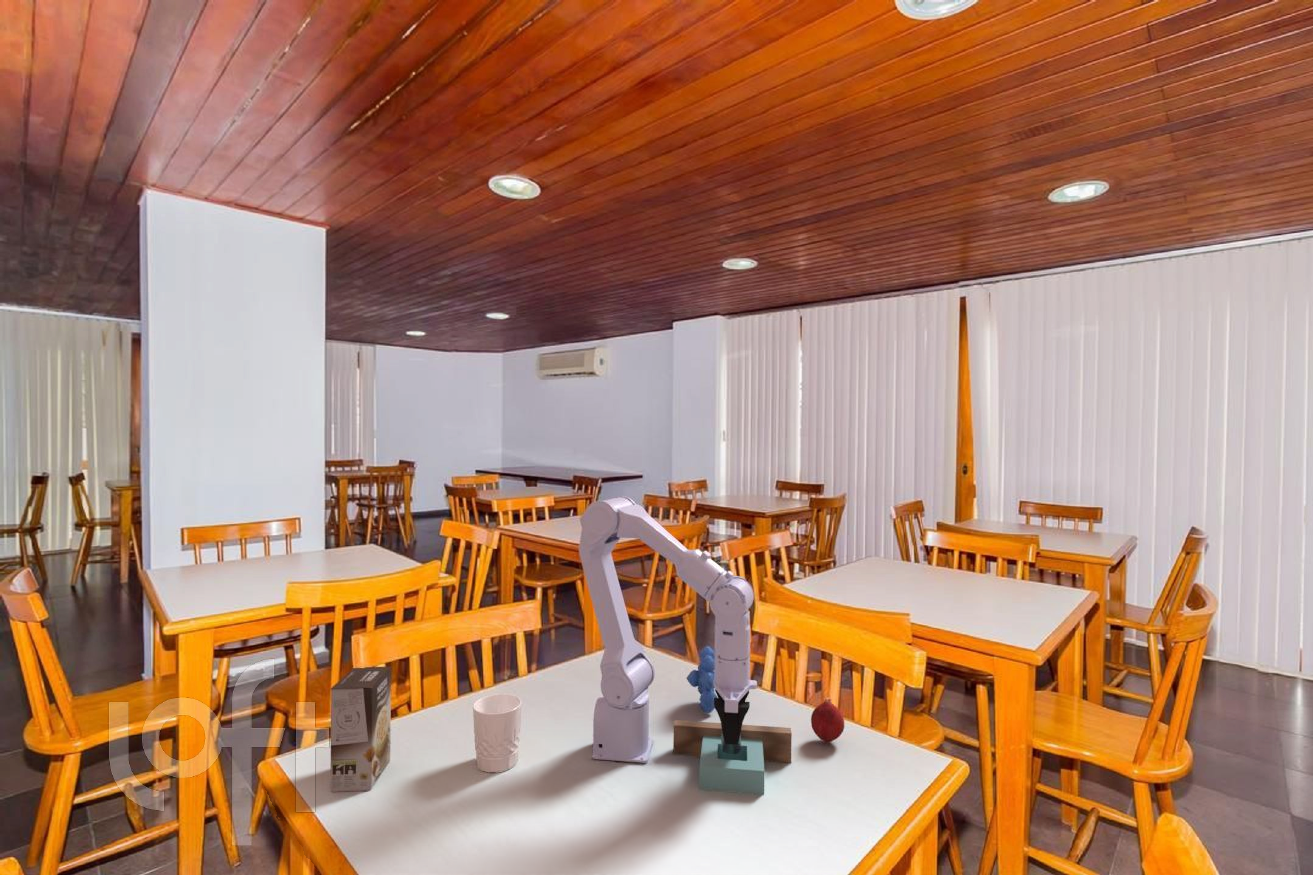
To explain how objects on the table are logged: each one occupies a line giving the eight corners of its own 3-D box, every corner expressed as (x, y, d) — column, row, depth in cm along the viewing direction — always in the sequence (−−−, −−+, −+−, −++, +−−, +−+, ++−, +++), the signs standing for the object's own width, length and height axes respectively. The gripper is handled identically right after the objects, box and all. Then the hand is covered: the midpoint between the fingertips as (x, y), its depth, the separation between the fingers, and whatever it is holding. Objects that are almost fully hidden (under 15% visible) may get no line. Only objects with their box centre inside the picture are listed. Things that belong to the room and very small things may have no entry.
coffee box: (372, 791, 98) (372, 687, 98) (329, 792, 98) (329, 688, 97) (391, 760, 107) (391, 665, 107) (352, 761, 107) (352, 666, 106)
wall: (673, 753, 110) (673, 725, 110) (674, 748, 112) (674, 719, 112) (791, 762, 107) (791, 733, 107) (790, 756, 109) (790, 727, 109)
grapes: (685, 695, 134) (686, 638, 134) (718, 695, 134) (718, 639, 134) (686, 720, 123) (686, 658, 122) (721, 721, 122) (722, 659, 122)
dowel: (721, 753, 102) (722, 710, 102) (720, 743, 105) (720, 701, 105) (741, 754, 102) (742, 710, 102) (739, 744, 105) (740, 702, 105)
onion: (845, 752, 111) (846, 706, 111) (811, 748, 112) (812, 703, 112) (842, 736, 117) (843, 693, 116) (810, 733, 118) (810, 690, 118)
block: (699, 791, 99) (699, 765, 99) (703, 758, 109) (703, 735, 109) (764, 796, 98) (764, 770, 98) (761, 762, 108) (762, 739, 108)
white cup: (530, 762, 107) (530, 703, 107) (489, 780, 101) (489, 718, 101) (504, 745, 112) (504, 689, 112) (463, 762, 107) (463, 703, 106)
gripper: (758, 672, 96) (757, 762, 96) (756, 640, 110) (755, 718, 110) (711, 670, 97) (710, 758, 97) (715, 638, 111) (714, 716, 111)
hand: (731, 737), depth 104 cm, fingers closed on dowel, 3 cm apart
